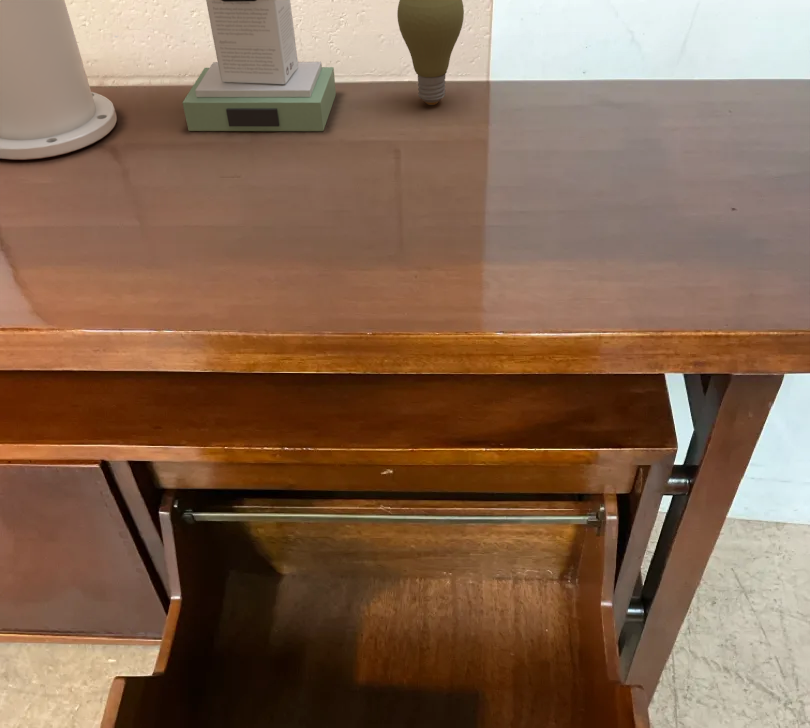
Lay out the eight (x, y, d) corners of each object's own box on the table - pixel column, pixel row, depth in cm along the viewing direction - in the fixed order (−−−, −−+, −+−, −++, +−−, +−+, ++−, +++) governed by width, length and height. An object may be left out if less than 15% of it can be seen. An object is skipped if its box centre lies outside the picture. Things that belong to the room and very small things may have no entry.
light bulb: (399, 116, 74) (394, -15, 67) (402, 91, 78) (397, -35, 70) (462, 115, 74) (464, -16, 66) (462, 90, 78) (464, -37, 70)
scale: (187, 132, 73) (179, 96, 71) (209, 95, 79) (203, 60, 77) (323, 132, 72) (319, 95, 70) (336, 94, 78) (333, 59, 76)
